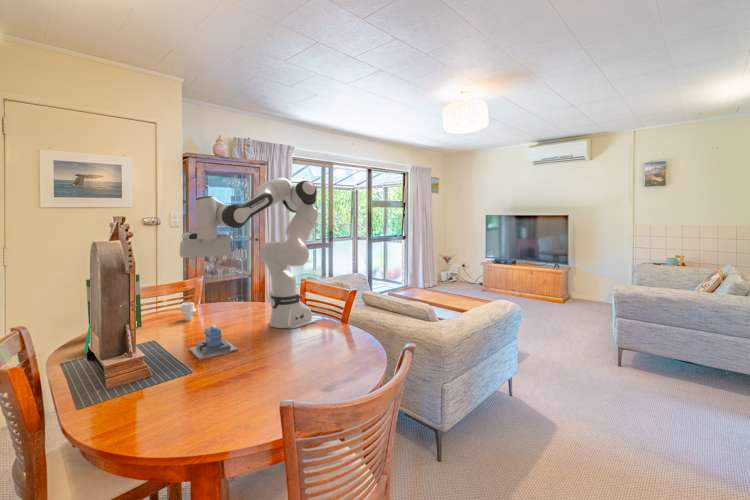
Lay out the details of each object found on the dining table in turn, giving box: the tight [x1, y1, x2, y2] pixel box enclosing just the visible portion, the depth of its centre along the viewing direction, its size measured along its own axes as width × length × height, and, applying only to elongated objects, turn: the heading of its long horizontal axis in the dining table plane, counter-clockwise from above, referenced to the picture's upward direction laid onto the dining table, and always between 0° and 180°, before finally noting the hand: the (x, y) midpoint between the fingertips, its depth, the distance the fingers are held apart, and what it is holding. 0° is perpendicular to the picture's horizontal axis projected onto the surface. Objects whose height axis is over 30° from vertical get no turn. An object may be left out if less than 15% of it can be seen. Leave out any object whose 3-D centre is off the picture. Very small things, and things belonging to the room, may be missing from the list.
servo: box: [203, 324, 223, 349], centre depth 141 cm, size 4×8×9 cm, turn 41°
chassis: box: [189, 338, 239, 361], centre depth 142 cm, size 14×12×2 cm
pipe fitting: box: [179, 301, 197, 321], centre depth 181 cm, size 6×7×8 cm
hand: (206, 266), depth 159 cm, fingers open, 8 cm apart
